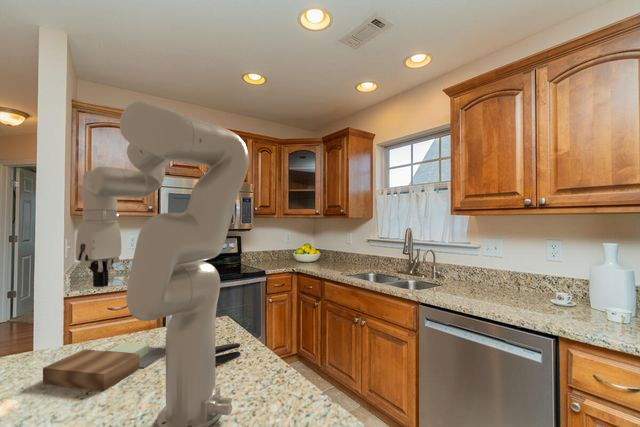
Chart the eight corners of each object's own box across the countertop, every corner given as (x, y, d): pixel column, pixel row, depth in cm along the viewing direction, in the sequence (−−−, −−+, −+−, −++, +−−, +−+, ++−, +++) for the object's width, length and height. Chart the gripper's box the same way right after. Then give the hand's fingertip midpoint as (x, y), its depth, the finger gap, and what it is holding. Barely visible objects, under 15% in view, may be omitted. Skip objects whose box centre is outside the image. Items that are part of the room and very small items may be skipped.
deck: (139, 369, 85) (139, 354, 85) (104, 391, 74) (104, 374, 74) (84, 363, 88) (84, 349, 88) (42, 383, 78) (42, 367, 78)
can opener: (187, 382, 78) (187, 359, 78) (175, 373, 83) (175, 352, 83) (247, 358, 91) (247, 339, 91) (234, 351, 96) (234, 333, 96)
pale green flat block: (133, 353, 89) (133, 361, 89) (148, 344, 95) (148, 352, 95) (106, 350, 90) (106, 359, 90) (123, 342, 96) (123, 350, 96)
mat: (172, 350, 97) (172, 349, 97) (143, 368, 85) (144, 367, 85) (117, 345, 101) (117, 344, 101) (82, 362, 89) (82, 361, 89)
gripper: (112, 217, 92) (112, 280, 91) (60, 217, 77) (61, 292, 77) (134, 217, 90) (134, 281, 90) (86, 217, 76) (86, 293, 75)
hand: (100, 286), depth 83 cm, fingers closed
